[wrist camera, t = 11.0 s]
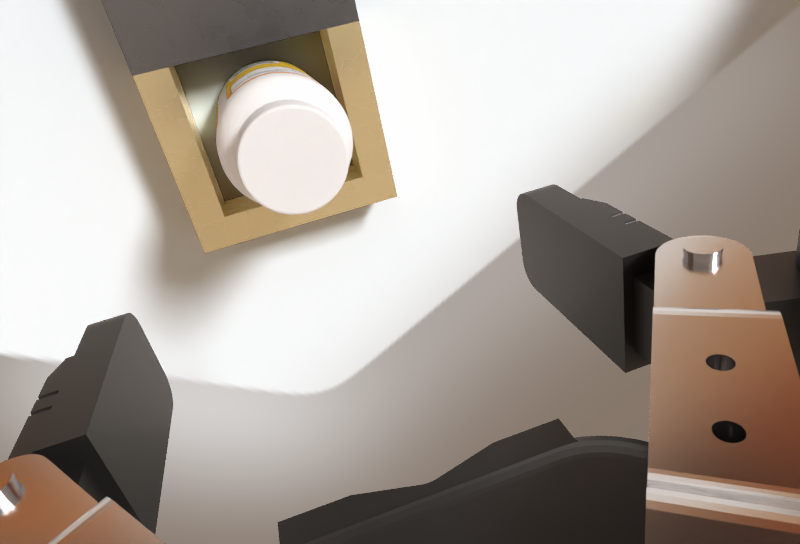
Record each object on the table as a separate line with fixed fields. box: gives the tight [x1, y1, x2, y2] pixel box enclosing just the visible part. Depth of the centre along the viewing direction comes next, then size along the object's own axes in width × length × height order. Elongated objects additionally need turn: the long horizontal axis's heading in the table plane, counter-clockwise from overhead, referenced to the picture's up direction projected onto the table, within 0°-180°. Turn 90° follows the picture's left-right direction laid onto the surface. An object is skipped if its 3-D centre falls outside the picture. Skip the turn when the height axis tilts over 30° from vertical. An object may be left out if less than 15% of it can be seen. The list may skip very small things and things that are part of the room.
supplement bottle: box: [216, 60, 353, 215], centre depth 24 cm, size 5×5×10 cm
